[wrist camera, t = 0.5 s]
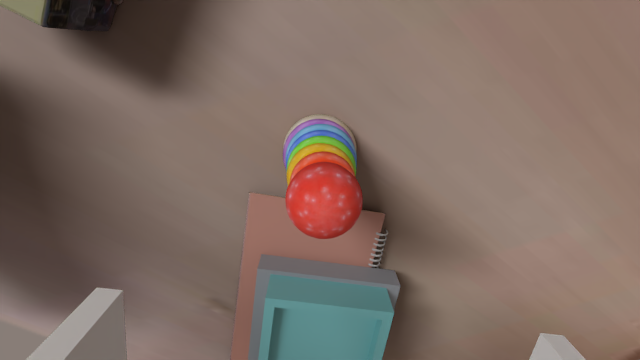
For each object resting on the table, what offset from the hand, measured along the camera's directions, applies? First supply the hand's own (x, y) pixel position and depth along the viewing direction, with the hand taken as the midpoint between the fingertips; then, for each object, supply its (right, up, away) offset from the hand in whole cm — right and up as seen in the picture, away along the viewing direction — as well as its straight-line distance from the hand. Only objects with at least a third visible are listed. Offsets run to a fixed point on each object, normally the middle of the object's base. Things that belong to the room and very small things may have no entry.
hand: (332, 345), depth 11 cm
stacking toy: (0, +9, +27) cm, 29 cm away
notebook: (-2, -10, +34) cm, 35 cm away
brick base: (0, -11, +32) cm, 34 cm away
